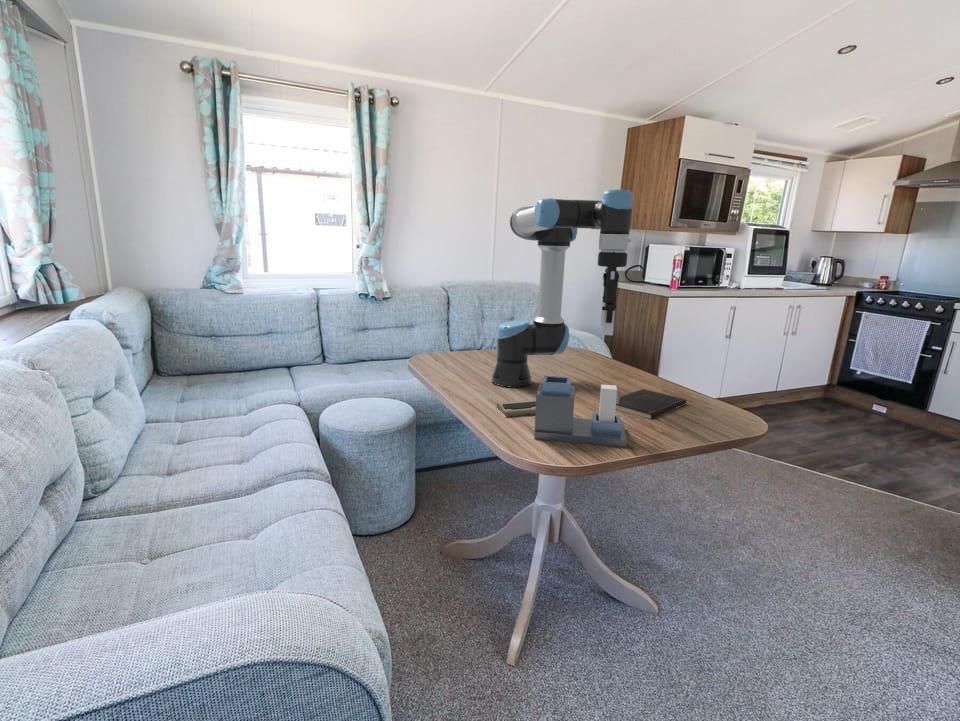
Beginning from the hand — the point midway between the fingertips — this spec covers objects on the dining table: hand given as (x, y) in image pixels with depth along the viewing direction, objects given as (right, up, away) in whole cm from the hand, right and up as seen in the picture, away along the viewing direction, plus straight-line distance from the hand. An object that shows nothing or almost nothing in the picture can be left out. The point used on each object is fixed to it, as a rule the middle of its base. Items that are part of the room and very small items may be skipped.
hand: (606, 330), depth 134 cm
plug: (0, -27, 0) cm, 27 cm away
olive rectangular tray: (-21, -25, +20) cm, 38 cm away
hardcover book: (+20, -24, +27) cm, 42 cm away
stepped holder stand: (-7, -29, +2) cm, 30 cm away
